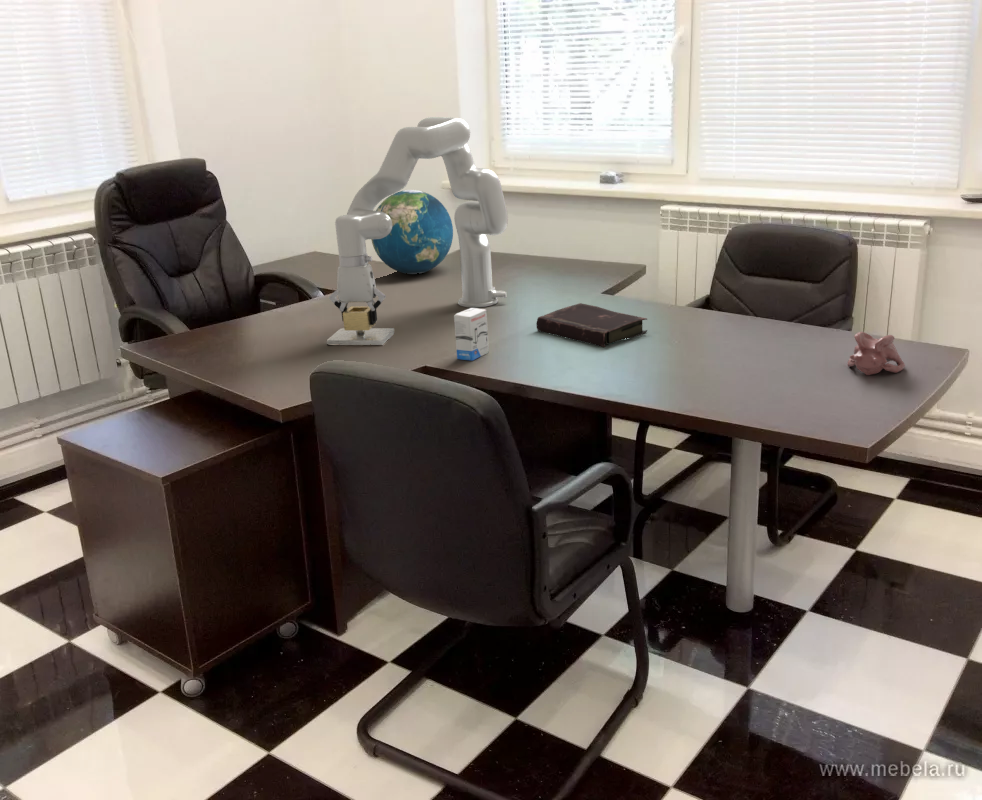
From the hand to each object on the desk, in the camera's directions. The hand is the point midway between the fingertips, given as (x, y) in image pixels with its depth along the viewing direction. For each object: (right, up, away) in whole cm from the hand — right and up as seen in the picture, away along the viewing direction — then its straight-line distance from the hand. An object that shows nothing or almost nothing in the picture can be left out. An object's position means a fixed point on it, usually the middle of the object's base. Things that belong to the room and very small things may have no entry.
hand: (360, 323), depth 261 cm
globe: (+9, +25, +81) cm, 85 cm away
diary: (+65, -3, -3) cm, 65 cm away
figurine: (+125, -15, -46) cm, 134 cm away
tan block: (0, -1, 0) cm, 1 cm away
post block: (0, -4, +1) cm, 5 cm away
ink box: (+32, -10, -19) cm, 38 cm away
